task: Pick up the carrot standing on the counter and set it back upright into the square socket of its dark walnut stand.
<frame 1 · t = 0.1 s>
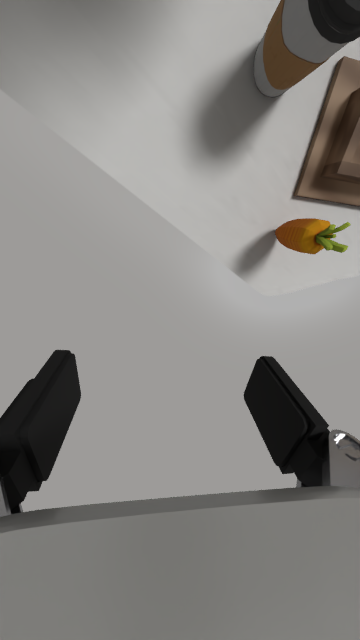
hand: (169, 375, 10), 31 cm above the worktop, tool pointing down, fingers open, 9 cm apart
coffee cup: (273, 67, 27), on the worktop
carrot: (276, 231, 38), on the worktop
walnut stand: (356, 145, 32), on the worktop
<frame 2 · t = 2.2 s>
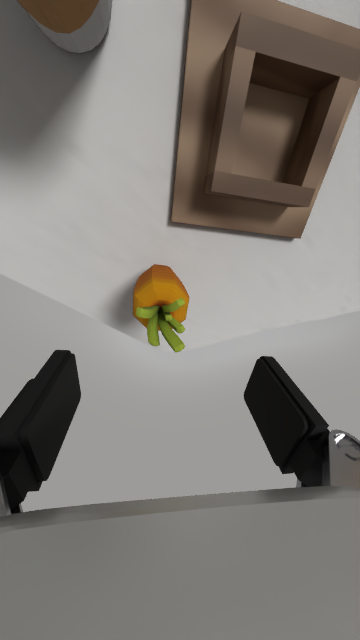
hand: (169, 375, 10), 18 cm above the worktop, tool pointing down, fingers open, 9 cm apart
carrot: (158, 271, 25), on the worktop
walnut stand: (257, 143, 20), on the worktop
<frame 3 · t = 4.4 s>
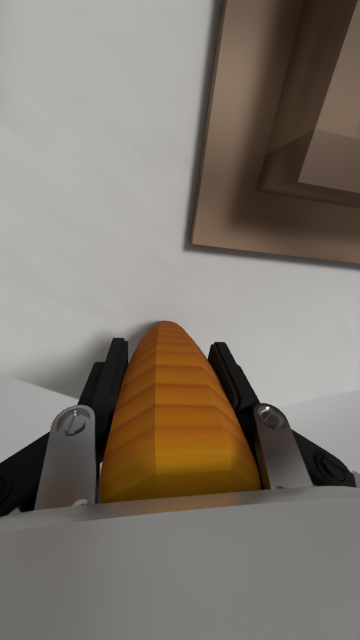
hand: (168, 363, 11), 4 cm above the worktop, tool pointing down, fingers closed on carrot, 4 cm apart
carrot: (165, 323, 15), on the worktop, touching gripper
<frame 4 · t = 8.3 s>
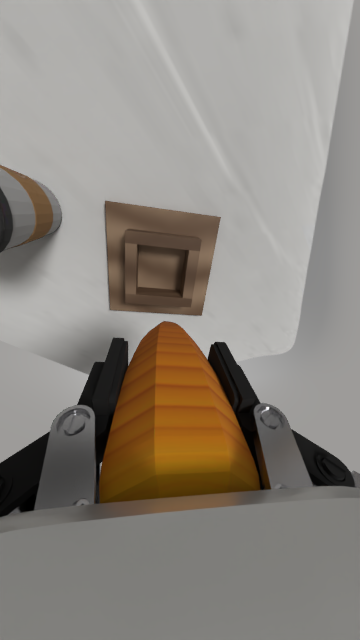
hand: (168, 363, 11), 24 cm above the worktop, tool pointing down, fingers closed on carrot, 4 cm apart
coffee cup: (38, 208, 27), on the worktop
carrot: (165, 323, 15), point 19 cm above the worktop, touching gripper
walnut stand: (160, 265, 32), on the worktop
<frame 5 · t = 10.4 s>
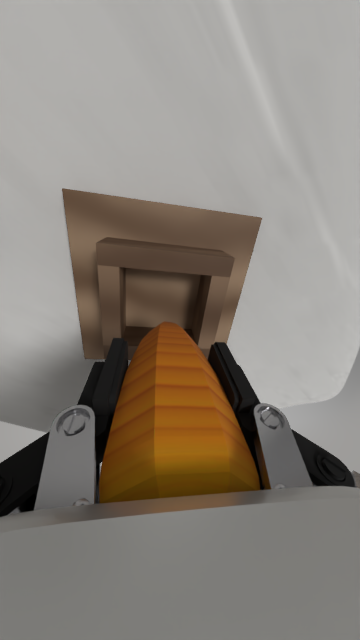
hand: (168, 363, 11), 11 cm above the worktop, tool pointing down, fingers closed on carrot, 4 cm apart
carrot: (166, 323, 15), point 6 cm above the worktop, touching gripper
walnut stand: (161, 293, 20), on the worktop
when the fingers open (7 cm above the worktop, at t = 12.1 s): carrot drops 1 cm, resting on walnut stand.
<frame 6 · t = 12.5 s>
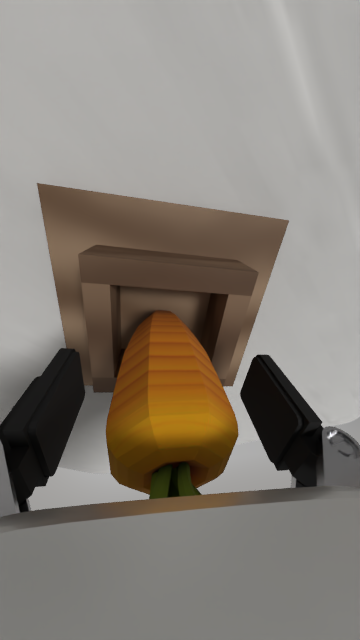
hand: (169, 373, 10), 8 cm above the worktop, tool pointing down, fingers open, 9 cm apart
carrot: (160, 312, 16), point 1 cm above the worktop, touching walnut stand
walnut stand: (164, 310, 17), on the worktop
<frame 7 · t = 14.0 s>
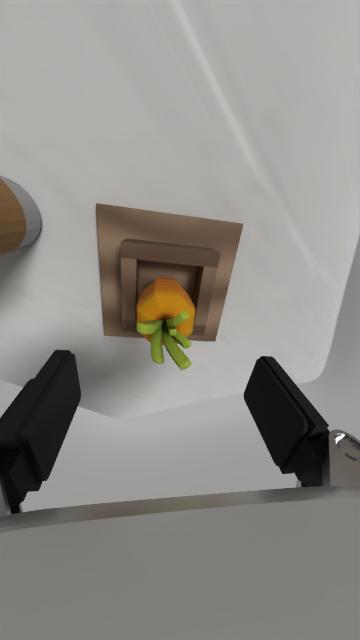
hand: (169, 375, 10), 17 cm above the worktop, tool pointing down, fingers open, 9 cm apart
coffee cup: (12, 213, 21), on the worktop
carrot: (164, 283, 25), point 1 cm above the worktop, touching walnut stand
walnut stand: (166, 283, 26), on the worktop
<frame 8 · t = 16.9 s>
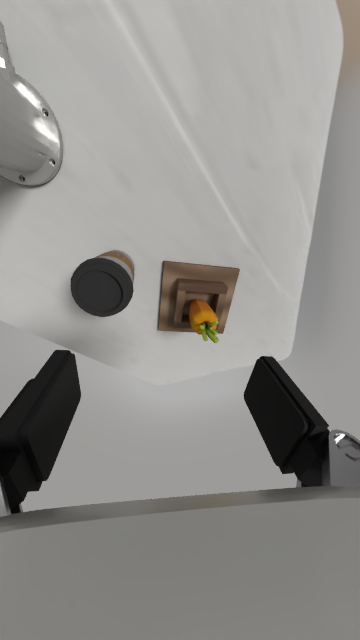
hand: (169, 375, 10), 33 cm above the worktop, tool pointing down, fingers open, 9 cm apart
coffee cup: (118, 266, 40), on the worktop
carrot: (195, 300, 44), point 1 cm above the worktop, touching walnut stand
walnut stand: (196, 300, 45), on the worktop
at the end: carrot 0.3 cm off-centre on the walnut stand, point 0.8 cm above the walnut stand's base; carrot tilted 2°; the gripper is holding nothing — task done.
